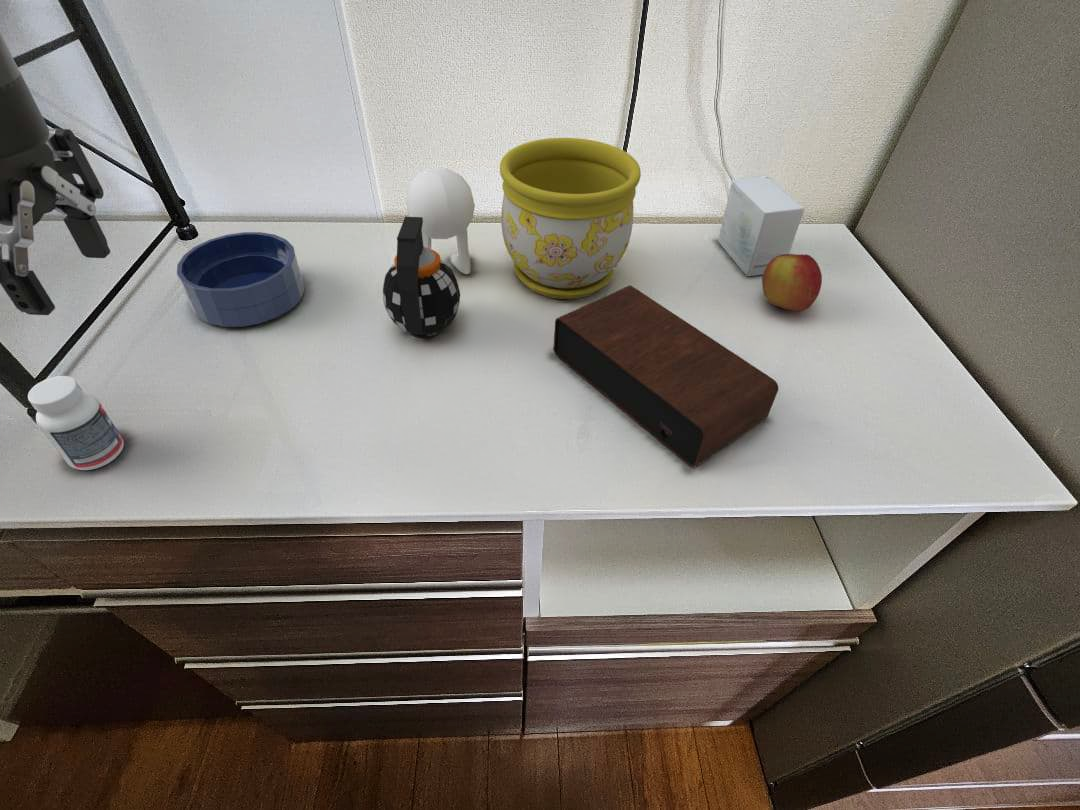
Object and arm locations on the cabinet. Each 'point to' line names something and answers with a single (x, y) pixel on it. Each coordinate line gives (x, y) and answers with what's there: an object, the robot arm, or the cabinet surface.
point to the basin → (241, 278)
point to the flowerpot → (567, 213)
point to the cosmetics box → (758, 223)
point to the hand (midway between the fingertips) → (71, 282)
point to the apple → (792, 281)
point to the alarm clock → (664, 373)
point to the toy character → (443, 210)
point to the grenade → (419, 285)
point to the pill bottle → (75, 423)
